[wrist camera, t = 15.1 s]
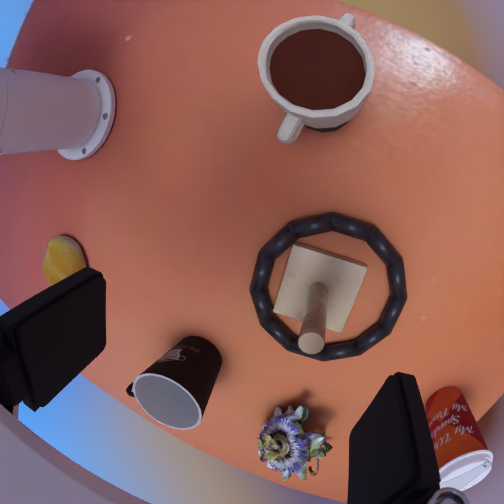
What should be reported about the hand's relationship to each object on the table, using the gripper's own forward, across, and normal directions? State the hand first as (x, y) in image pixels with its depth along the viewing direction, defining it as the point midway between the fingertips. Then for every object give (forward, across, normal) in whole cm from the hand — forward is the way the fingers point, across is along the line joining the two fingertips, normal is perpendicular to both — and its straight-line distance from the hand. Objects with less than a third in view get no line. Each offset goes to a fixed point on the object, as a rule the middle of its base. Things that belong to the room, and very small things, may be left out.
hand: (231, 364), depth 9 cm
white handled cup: (+24, +1, -12) cm, 27 cm away
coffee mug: (+24, +8, +22) cm, 34 cm away
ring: (+23, -6, +7) cm, 25 cm away
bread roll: (+25, +30, +16) cm, 43 cm away
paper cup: (+23, -28, +18) cm, 40 cm away
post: (+24, -4, +7) cm, 25 cm away
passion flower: (+24, -10, +28) cm, 38 cm away
